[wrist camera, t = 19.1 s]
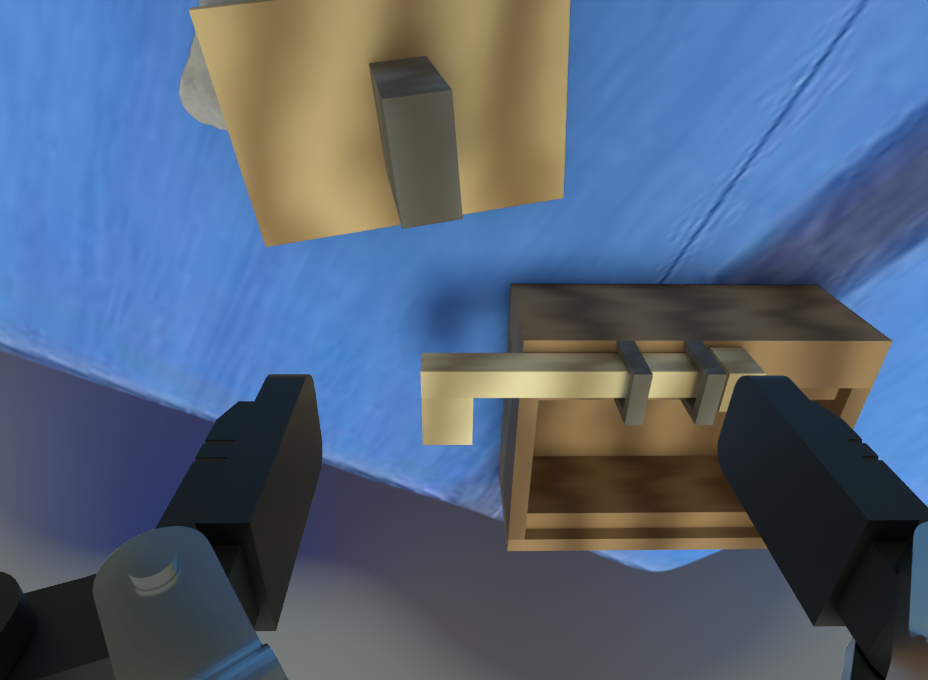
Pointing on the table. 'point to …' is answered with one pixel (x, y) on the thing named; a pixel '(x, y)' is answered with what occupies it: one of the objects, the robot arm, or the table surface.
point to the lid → (389, 108)
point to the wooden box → (660, 408)
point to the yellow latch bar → (553, 382)
